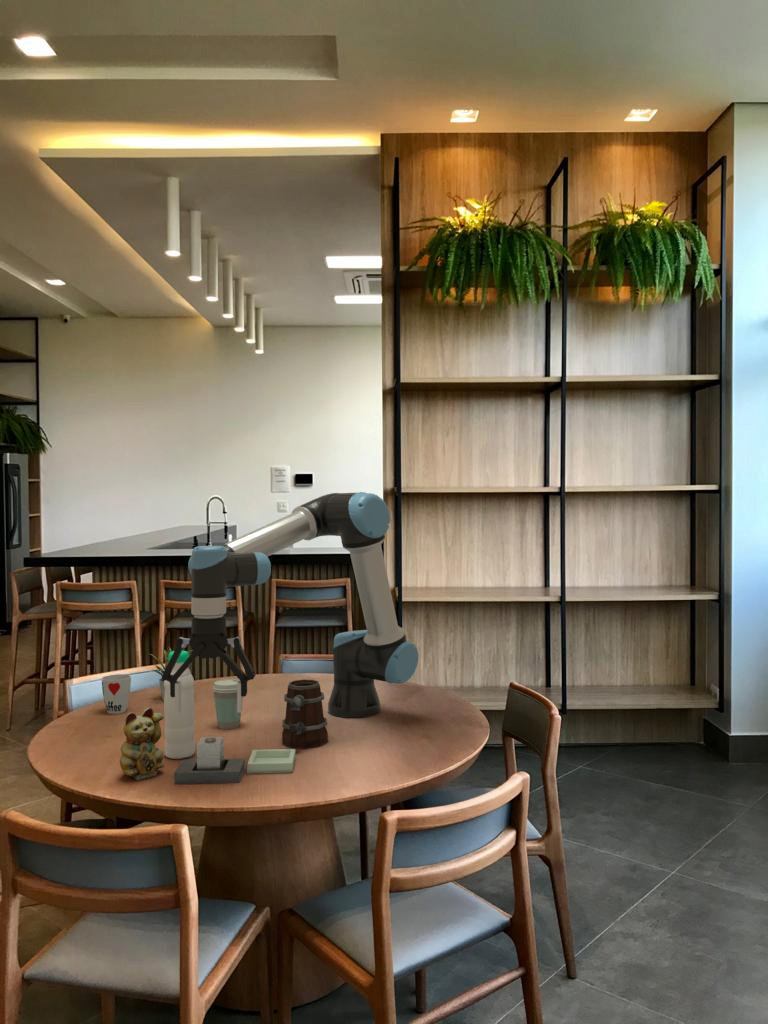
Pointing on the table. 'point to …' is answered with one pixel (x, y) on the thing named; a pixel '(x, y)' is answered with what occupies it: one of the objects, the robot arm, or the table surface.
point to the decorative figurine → (142, 745)
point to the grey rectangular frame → (209, 772)
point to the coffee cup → (226, 703)
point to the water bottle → (180, 715)
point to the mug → (304, 715)
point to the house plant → (163, 671)
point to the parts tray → (271, 761)
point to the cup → (116, 692)
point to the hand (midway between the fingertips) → (208, 711)
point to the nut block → (210, 754)
